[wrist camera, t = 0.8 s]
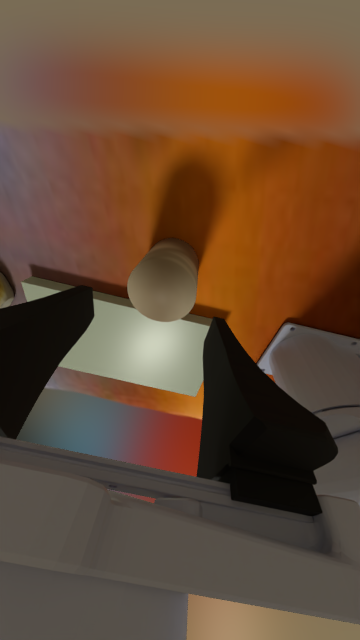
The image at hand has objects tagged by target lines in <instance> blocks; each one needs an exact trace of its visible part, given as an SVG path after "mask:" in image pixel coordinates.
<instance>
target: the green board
mask: <svg viewBox="0 0 360 640" xmlns="http://www.w3.org/2000/svg"><path fill="white" fill-rule="evenodd" d="M21 283H22V286H23V289H24V292H25V296H26V299H27V302H29V301H32V300H36V299H39V298H43V297H46V296H49V295H52V294H55V293H58V292H61V291H64V290H67V289H71V288H74V287H75V286H71V285H67V284H62V283H58V282H54V281H50V280H46V279H41V278H37V277H33V276H31V277H30V278H28V279H26V280H24V281H22V282H21ZM93 302H94V315H95V316H94V318H93V320H92V322H91V324H90V325H89V327H88V328H87V330H86V331H85V333H84V334H83V335H82V336H81V338H80V339H79V340H78V341H77V343H76V344H75V345H74V346H73V347H72V349H71V350H70V351H69V352H68V353H67V355H66V356H65V357H64V358H63V360H62V361H61V362H60V364H59V365H58V366H60V367H64V368H69V369H73V370H78V371H82V372H87V373H91V374H96V375H100V376H105V377H109V378H114V379H118V380H123V381H127V382H132V383H136V384H141V385H145V386H150V387H154V388H159V389H163V390H168V391H172V392H177V393H181V394H186V395H190V396H195V397H196V395H197V392H198V390H199V388H200V386H201V384H202V381H203V346H204V340H205V338H206V335H207V333H208V330H209V327H210V325H211V322H212V320H213V319H210V318H206V317H202V316H198V315H193V314H189V313H188V314H187V315H186V316H184V317H183V318H181V319H179V320H176V321H172V322H159V321H155V320H152V319H149V318H147V317H146V316H144V315H142V314H141V313H140V312H139V311H138V310H137V309H136V308H135V307H134V306H133V304H132V302H131V300H130V299H126V298H122V297H117V296H113V295H109V294H105V293H100V292H96V291H93Z"/></svg>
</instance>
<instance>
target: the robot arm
mask: <svg viewBox="0 0 360 640" xmlns="http://www.w3.org/2000/svg"><path fill="white" fill-rule="evenodd" d="M94 316H95V315H94V302H93V288H91V287H87V286H83V285H82V286H77V287H74V288H71V289H67V290H64V291H61V292H58V293H55V294H52V295H49V296H46V297H43V298H39V299H36V300H32V301H29V302H26V303H22V304H18V305H14V306H9V307H5V308H0V640H186V632H187V610H188V594H194V595H199V596H205V597H210V598H216V599H222V600H227V601H233V602H238V603H244V604H250V605H255V606H261V607H266V608H272V609H277V610H283V611H288V612H293V613H299V614H305V615H310V616H316V617H321V618H327V619H332V620H338V621H343V622H349V623H354V624H360V339H356V338H352V337H348V336H343V335H339V334H335V333H331V332H327V331H322V330H318V329H314V328H310V327H306V326H302V325H297V324H293V323H285V324H283V326H282V327H281V329H280V330H279V332H278V333H277V334H276V336H275V337H274V339H273V340H272V342H271V343H270V345H269V346H268V348H267V349H266V351H265V352H264V354H263V355H262V357H261V358H260V360H259V361H258V363H257V364H256V363H255V362H254V361H253V360H252V359H251V357H250V356H249V355H248V354H247V352H246V351H245V350H244V348H243V347H242V346H241V344H240V343H239V342H238V340H237V339H236V337H235V336H234V334H233V333H232V331H231V329H230V328H229V326H228V325H227V323H226V321H225V320H224V319H222V318H218V317H213V320H212V322H211V325H210V327H209V330H208V333H207V335H206V338H205V340H204V346H203V379H204V403H203V418H202V431H201V441H200V452H199V461H198V470H197V477H194V476H189V475H185V474H180V473H175V472H170V471H165V470H160V469H155V468H151V467H146V466H141V465H136V464H131V463H126V462H122V461H117V460H112V459H107V458H102V457H97V456H92V455H88V454H83V453H78V452H73V451H68V450H63V449H59V448H53V447H48V446H44V445H39V444H34V443H29V442H25V441H20V440H16V438H17V436H18V434H19V432H20V430H21V428H22V426H23V424H24V422H25V421H26V419H27V417H28V415H29V413H30V411H31V410H32V408H33V406H34V404H35V402H36V401H37V399H38V397H39V395H40V394H41V392H42V390H43V389H44V387H45V386H46V384H47V382H48V381H49V379H50V377H51V376H52V374H53V373H54V371H55V370H56V368H57V367H58V365H59V364H60V362H61V361H62V360H63V358H64V357H65V356H66V355H67V353H68V352H69V351H70V350H71V349H72V347H73V346H74V345H75V344H76V343H77V341H78V340H79V339H80V338H81V336H82V335H83V334H84V333H85V331H86V330H87V328H88V327H89V325H90V324H91V322H92V320H93V318H94ZM292 327H294V328H292ZM290 328H292V329H290ZM265 373H266V374H271V375H273V377H274V379H275V382H276V383H275V382H274V381H272V380H271V379H270V378H269V377H268V376H267V375H266V374H265ZM107 489H111V490H116V491H121V492H126V493H131V494H136V495H141V496H146V497H151V498H156V500H155V503H151V502H147V501H144V500H141V499H137V498H134V497H130V496H127V495H124V494H120V493H117V492H114V491H110V490H107Z"/></svg>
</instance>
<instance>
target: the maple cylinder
mask: <svg viewBox="0 0 360 640" xmlns="http://www.w3.org/2000/svg"><path fill="white" fill-rule="evenodd" d="M198 268H199V262H198V257H197V254H196V252H195V251H194V249H193V248H192V247H191V246H190V245H189V244H188V243H186V242H185V241H183V240H180V239H177V238H167V239H163V240H161V241H159V242H157V243H156V244H155V245H154V246H153V247H152V248H151V250H150V251H149V252H148V253H147V254H146V256H145V257H144V258H143V259H142V260H141V262H140V263H139V264H138V265H137V266H136V267H135V269H134V270H133V271H132V273H131V274H130V276H129V279H128V284H127V290H128V295H129V298H130V300H131V302H132V304H133V306H134V307H135V308H136V309H137V310H138V311H139V312H140V313H141V314H142V315H144V316H146V317H147V318H149V319H152V320H155V321H159V322H172V321H176V320H179V319H181V318H183V317H184V316H186V315H187V314H188V313H189V312H190V311H191V309H192V308H193V306H194V303H195V300H196V291H197V280H198Z"/></svg>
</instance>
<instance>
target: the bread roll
mask: <svg viewBox="0 0 360 640" xmlns="http://www.w3.org/2000/svg"><path fill="white" fill-rule="evenodd" d="M13 299H14V293H13V290H12V288H11V286H10V285H9V283H8V281H7V280H6V278H5V277H4V275H3V274H2V273H1V272H0V308H5V307H9V306H10V304H11V303H12V301H13Z"/></svg>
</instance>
